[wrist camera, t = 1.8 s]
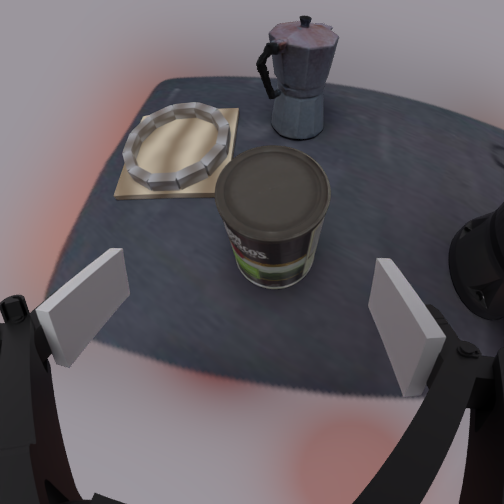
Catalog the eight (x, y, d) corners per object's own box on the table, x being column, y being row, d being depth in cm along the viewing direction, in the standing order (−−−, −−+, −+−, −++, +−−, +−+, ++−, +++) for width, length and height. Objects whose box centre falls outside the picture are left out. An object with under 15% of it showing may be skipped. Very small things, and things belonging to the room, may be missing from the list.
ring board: (239, 113, 51) (236, 97, 47) (227, 197, 44) (223, 182, 40) (145, 120, 52) (139, 107, 49) (117, 199, 45) (107, 187, 42)
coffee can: (271, 306, 37) (266, 265, 24) (219, 247, 41) (192, 185, 28) (332, 254, 39) (354, 192, 26) (278, 202, 43) (276, 129, 30)
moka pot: (344, 114, 49) (359, 15, 30) (293, 165, 45) (295, 49, 27) (300, 92, 52) (301, -2, 33) (245, 137, 48) (228, 30, 30)
